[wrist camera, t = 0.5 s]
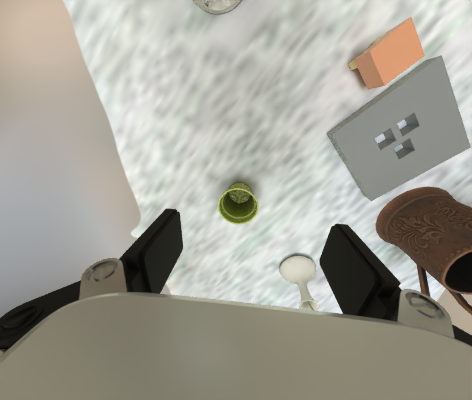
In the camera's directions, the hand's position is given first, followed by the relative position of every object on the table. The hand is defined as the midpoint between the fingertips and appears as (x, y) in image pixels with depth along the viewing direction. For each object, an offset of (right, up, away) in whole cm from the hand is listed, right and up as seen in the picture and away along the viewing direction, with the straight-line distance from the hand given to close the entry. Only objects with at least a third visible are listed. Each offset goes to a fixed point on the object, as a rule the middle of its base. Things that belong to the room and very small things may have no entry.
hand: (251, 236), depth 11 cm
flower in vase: (+20, -20, +47) cm, 55 cm away
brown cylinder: (+47, -5, +37) cm, 60 cm away
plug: (+25, +28, +23) cm, 44 cm away
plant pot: (0, +4, +37) cm, 37 cm away
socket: (+34, +16, +28) cm, 47 cm away
